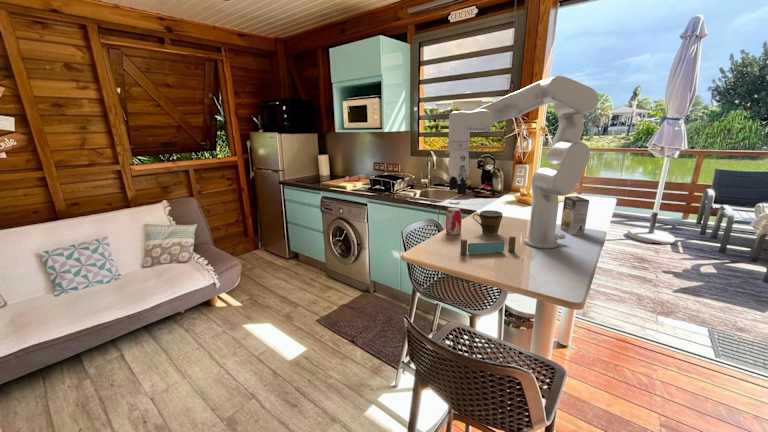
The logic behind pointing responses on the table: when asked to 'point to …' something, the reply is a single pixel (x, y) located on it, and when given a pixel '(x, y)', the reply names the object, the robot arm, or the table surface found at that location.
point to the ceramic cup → (490, 221)
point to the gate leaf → (486, 247)
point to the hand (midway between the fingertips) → (457, 191)
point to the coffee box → (574, 215)
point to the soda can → (453, 221)
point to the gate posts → (510, 247)
